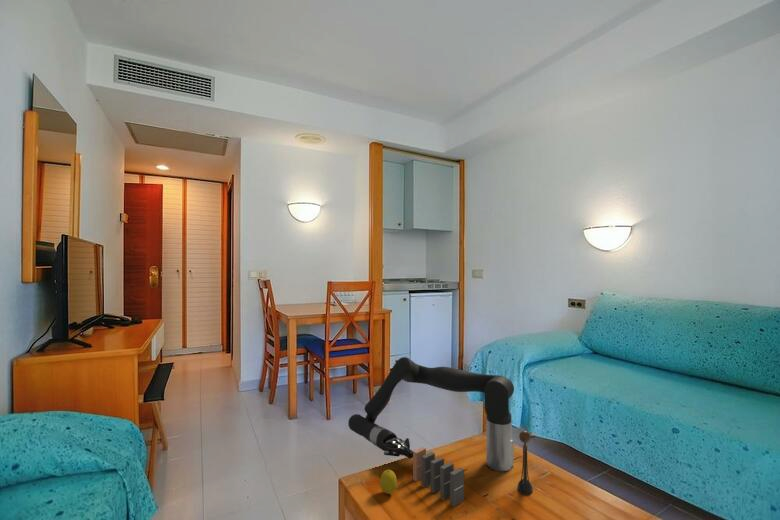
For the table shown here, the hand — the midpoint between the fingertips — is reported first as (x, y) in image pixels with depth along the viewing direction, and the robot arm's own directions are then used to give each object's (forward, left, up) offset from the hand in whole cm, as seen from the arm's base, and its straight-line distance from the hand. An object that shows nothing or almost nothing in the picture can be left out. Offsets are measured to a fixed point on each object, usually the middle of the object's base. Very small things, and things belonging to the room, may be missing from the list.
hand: (412, 455), depth 133 cm
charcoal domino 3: (-4, +16, -6) cm, 18 cm away
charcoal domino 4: (-5, +21, -6) cm, 22 cm away
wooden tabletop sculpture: (-31, +25, -7) cm, 40 cm away
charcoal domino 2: (-3, +12, -6) cm, 14 cm away
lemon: (+13, +8, -7) cm, 16 cm away
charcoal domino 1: (-2, +8, -6) cm, 11 cm away
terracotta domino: (-1, +4, -6) cm, 8 cm away
